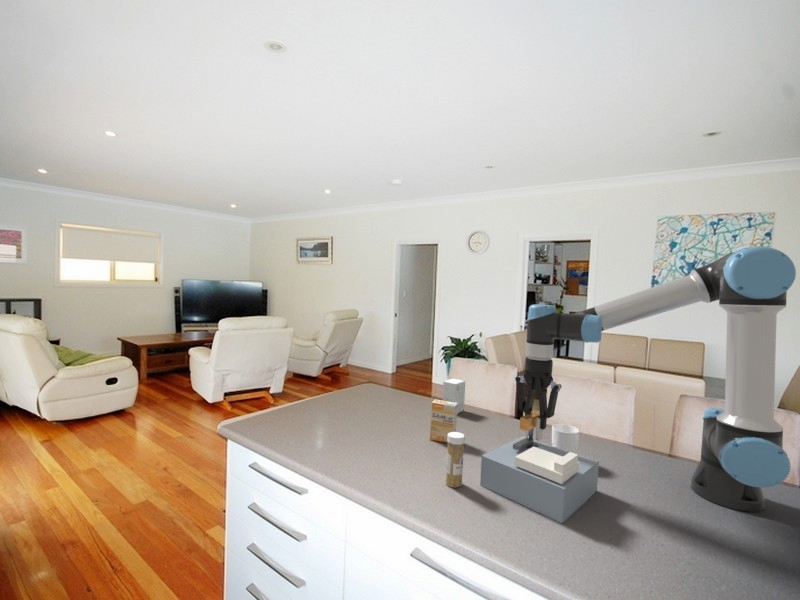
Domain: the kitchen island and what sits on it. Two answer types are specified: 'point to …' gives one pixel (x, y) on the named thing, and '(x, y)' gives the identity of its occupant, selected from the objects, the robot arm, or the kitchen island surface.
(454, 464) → the sprinkles bottle
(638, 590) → the kitchen island surface
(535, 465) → the cover
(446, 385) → the small box
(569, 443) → the white cup
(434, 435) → the supplement box
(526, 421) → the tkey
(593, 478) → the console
